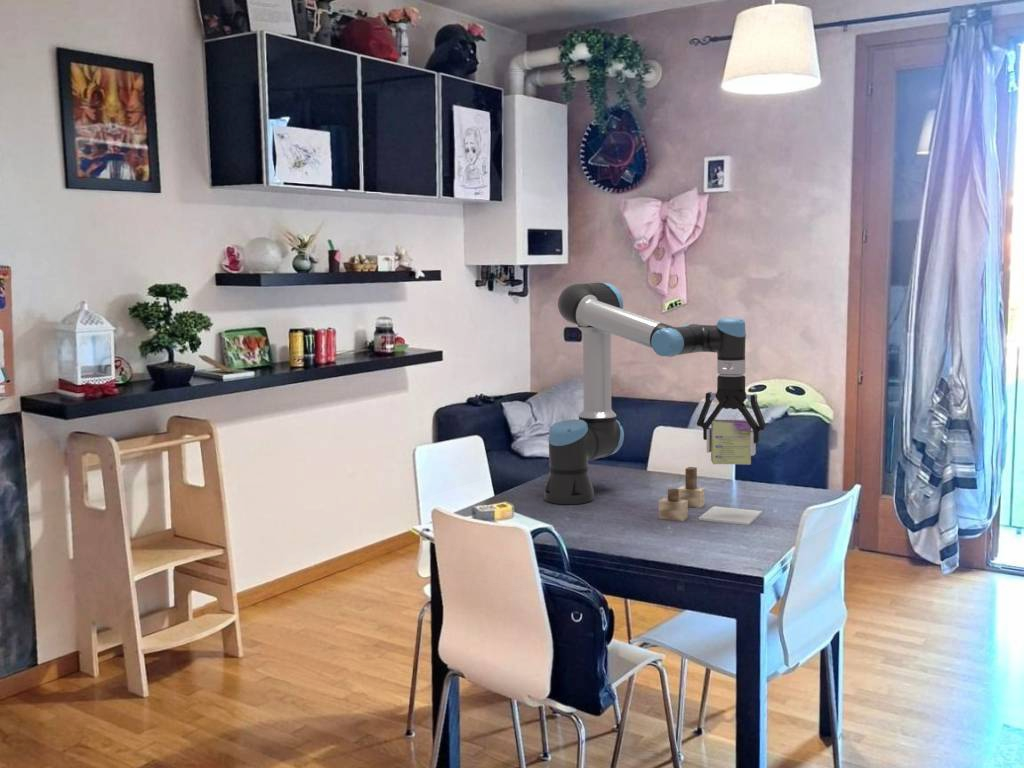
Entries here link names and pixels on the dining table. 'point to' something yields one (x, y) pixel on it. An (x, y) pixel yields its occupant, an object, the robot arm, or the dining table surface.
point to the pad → (730, 515)
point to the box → (730, 442)
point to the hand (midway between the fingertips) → (730, 453)
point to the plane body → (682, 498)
